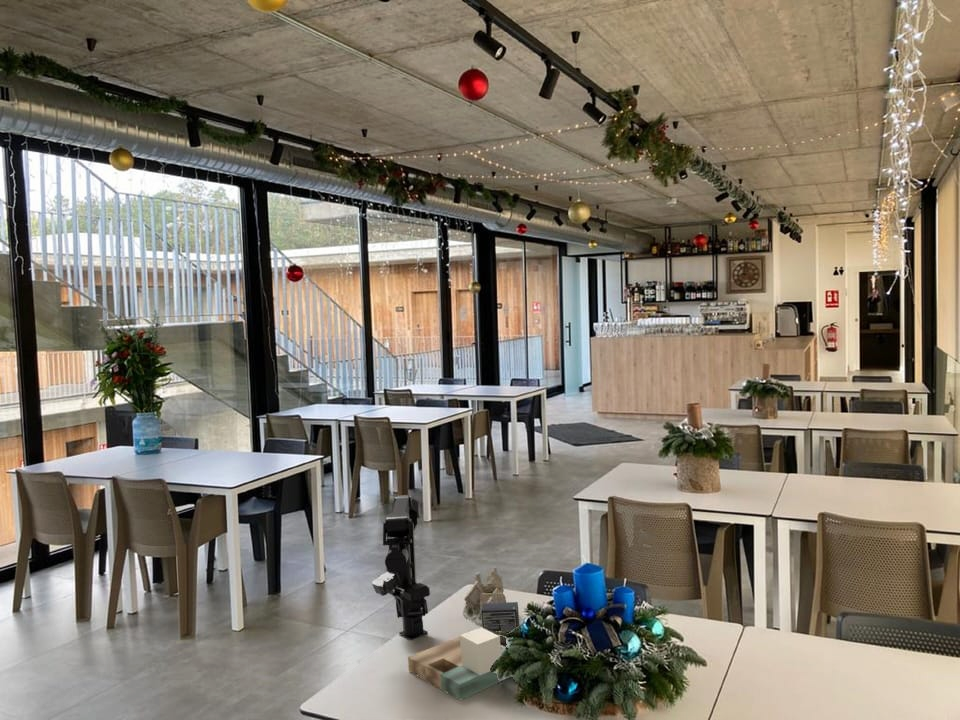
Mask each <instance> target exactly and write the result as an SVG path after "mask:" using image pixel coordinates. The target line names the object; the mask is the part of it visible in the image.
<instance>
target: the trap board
mask: <svg viewBox="0 0 960 720" xmlns="http://www.w3.org/2000/svg"><path fill="white" fill-rule="evenodd" d="M500 647H501V654H502V652H503V651H504V650H505V648H506V647H507V646H506V645H500ZM407 662H408V665H407V666H408V672H409V671H410V672H409V673H411V672H412V673H411V674H413V675H414V676H416V675H418V676H419V677H418V676H417V677H418V678H420V677H421V678H420V679H422V678H423V679H425V680H426V682H427V681H428V682H427V683H429V682H430V683H429V684H431V683H432V684H434V685H435V686H434V685H433V686H434V687H436V686H437V687H436V688H438V687H439V688H438V689H439V690H441V689H442V691H443V690H444V691H443V692H445V691H446V692H445V693H447V692H448V693H447V694H449V695H450V694H451V695H450V696H452V695H453V696H452V697H454V696H455V697H454V698H456V697H457V698H456V699H458V700H459V699H460V701H462V700H465V699H466V697H467V698H468V696H469V697H470V696H471V697H472V695H475V694H477V693H479V692H481V691H484V690H486V689H488V688H490V687H492V686H495V685H497V684H499V683H500V682H499V680H498V678H497V674H496V673H492V672H491V671H490V672H487V673H485V674H482V675H478V674H477V673H475V672H473V671H471V670H470V669H468V668H466V667H464V666H463V665H462V658H461V644H460V636H458V637H454V638H452V639H450V640H447V641H445V642H442V643H440V644H437V645H435V646H432V647H430V648H428V649H424V650H422V651H419V652H417V653H414V654H412V655H410V656H407ZM423 679H422V680H423ZM425 680H424V681H425ZM498 682H499V683H498ZM432 684H431V685H432ZM461 699H462V700H461Z"/></svg>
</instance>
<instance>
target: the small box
mask: <svg viewBox="0 0 960 720" xmlns="http://www.w3.org/2000/svg"><path fill="white" fill-rule="evenodd" d="M481 614H482V626H481V627H482V628H484V629H486V630H488V631H490V632H492V633H494V632H496V631H502V632H506V633H509V632H511V631H512V630H513V629H514V628H516V627H518V626H520V615H519V603H518V601H513V602H512V601H511V602H510V601H509V602H508V601H506V603H483V605H482V609H481ZM500 645H502V646H507V645H506V638H505V637H503V636H500Z"/></svg>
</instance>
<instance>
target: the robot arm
mask: <svg viewBox="0 0 960 720" xmlns="http://www.w3.org/2000/svg"><path fill="white" fill-rule="evenodd" d="M393 499H394V501H393V502H391V513H389V514H387V515H386V517H385V520H383V522H382V533H383V534H382V545H383V546H388V551H387V554H386V556H385V559H384V564H385V568H386V571H385V572H384V573H383V574H381V575H378V576H377V578H375V579H374V580H373V581H372V582H371V585H372V587H373V589H374V592H375V593H376V594H378V595H380V596H386V595H388V594H389V595H391V596H392V597H393V598H394V600H395V609H396V616H397V618H398V619H399V618H402V619H401V620H402V629H403V630H402V631H399V632H398V635H400V634H401V635H400V636H402V637H404V638H406V639H408V640H414V639H416V638H419V637H422V636H424V635H427V634H428V631H427V630H425V629H424V620H423V616H424V617H426V615H427V614H429V612H428V611H429V608H428V602H427V599H426V597H429V596H430V595H431V591H430V589H431V588H430V587H429V586H428V585H427V584H423V583H421V582H417V567H416V566H417V564H416V563H417V562H416V545H415V532H416V530H417V528H418V526H419V523H420V521H419V520H420V519H421V506H420V503H419V501H418V500H416V499H414V498H412V495H409V494H404V495H403V494H402V495H396V496H394V498H393Z"/></svg>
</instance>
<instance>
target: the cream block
mask: <svg viewBox="0 0 960 720" xmlns="http://www.w3.org/2000/svg"><path fill="white" fill-rule="evenodd" d="M459 637H460V644H461V658H462V665H463V666H464V667H466V668H468V669H470V670H471V671H473V672H475V673H477V674H478V675H482V674H485V673H487V672H490V668H491V666H492V665H493V663H494V662H495V661H496V660H497V659H498V658H499V657H500V656H501V647H500V636H498V635H496V634H494V633H492V632H490V631H488V630H486V629H484V628H483V626H480V627H479V628H475V629H473V630H471V631H468V632H465V633H462V634H460V635H459Z"/></svg>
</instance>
